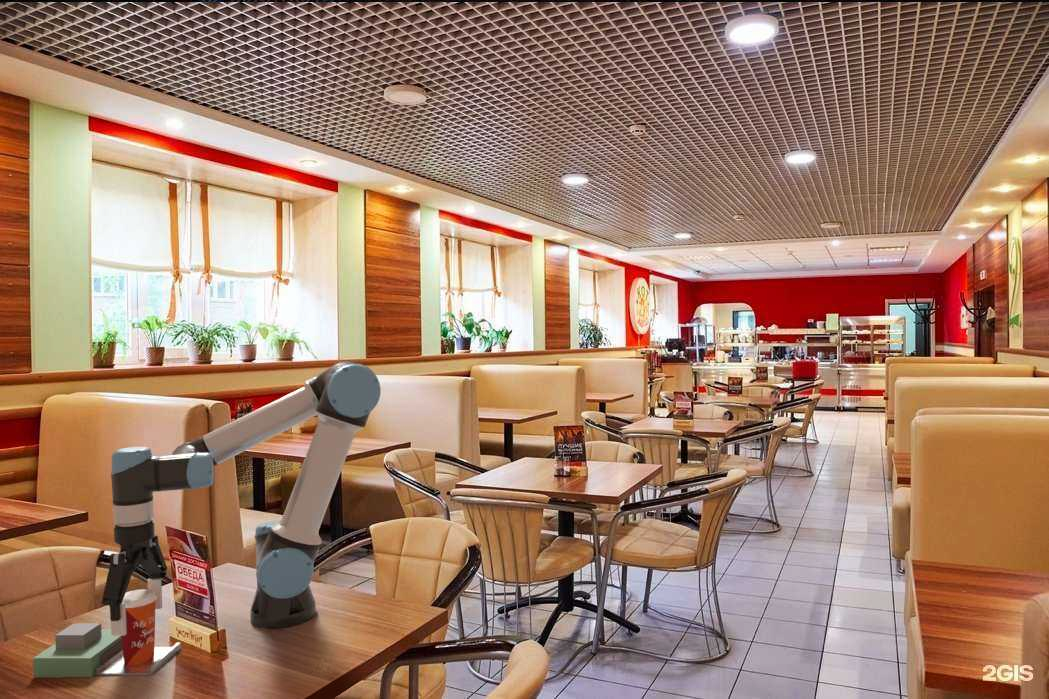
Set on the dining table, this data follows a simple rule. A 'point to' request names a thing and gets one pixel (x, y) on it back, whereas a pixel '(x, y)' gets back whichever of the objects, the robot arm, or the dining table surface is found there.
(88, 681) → the dining table surface
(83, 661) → the stepped green box
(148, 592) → the paper cup
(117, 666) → the plate
